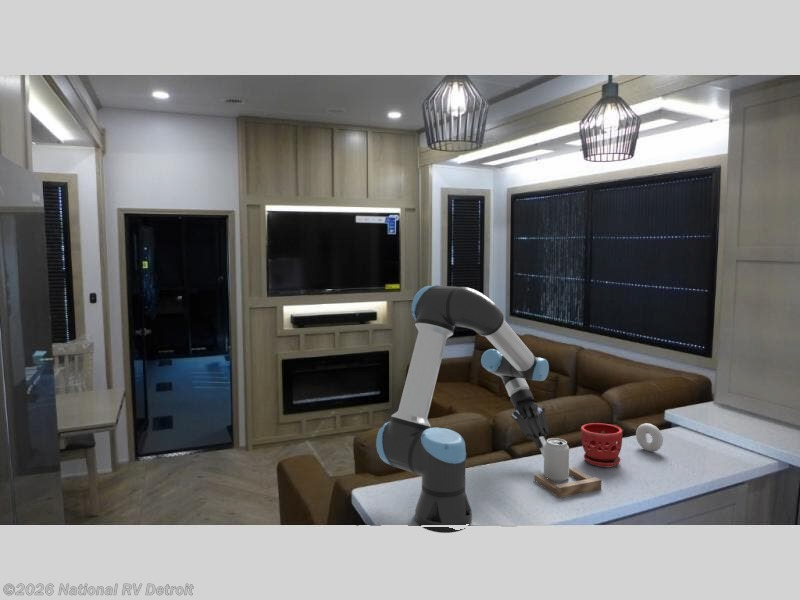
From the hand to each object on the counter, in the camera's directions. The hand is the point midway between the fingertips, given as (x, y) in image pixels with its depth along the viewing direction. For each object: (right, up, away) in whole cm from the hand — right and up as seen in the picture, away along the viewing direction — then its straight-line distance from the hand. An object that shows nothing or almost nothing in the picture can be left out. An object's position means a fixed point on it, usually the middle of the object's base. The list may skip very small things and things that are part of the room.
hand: (547, 456), depth 171 cm
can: (+1, -6, -4) cm, 7 cm away
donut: (+41, -3, +18) cm, 45 cm away
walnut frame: (+3, -6, -9) cm, 12 cm away
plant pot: (+20, -4, +8) cm, 22 cm away
